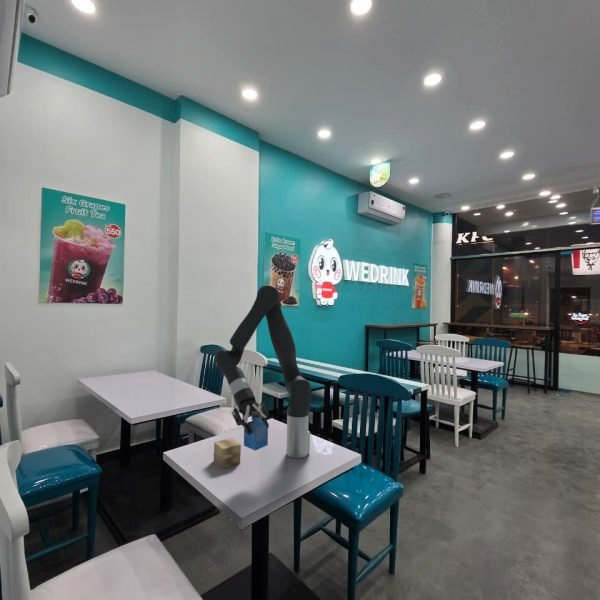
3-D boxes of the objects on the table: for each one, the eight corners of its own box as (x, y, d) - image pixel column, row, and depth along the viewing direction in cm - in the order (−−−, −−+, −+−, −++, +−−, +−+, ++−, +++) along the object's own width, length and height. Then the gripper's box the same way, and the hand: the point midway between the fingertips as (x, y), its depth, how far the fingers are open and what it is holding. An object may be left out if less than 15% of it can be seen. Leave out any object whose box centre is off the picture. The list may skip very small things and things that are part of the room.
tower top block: (232, 447, 142) (232, 437, 142) (240, 454, 136) (240, 444, 136) (214, 451, 137) (214, 442, 138) (222, 459, 131) (222, 449, 131)
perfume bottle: (256, 440, 129) (256, 409, 129) (267, 445, 125) (268, 412, 125) (243, 445, 124) (244, 413, 124) (255, 450, 120) (255, 417, 120)
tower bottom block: (231, 456, 142) (231, 447, 142) (240, 464, 136) (240, 454, 136) (213, 461, 137) (213, 451, 138) (221, 469, 131) (221, 459, 131)
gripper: (229, 390, 125) (246, 431, 116) (261, 384, 135) (278, 421, 126) (222, 401, 129) (237, 441, 120) (253, 394, 139) (270, 431, 130)
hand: (258, 431), depth 123 cm, fingers closed on perfume bottle, 6 cm apart
